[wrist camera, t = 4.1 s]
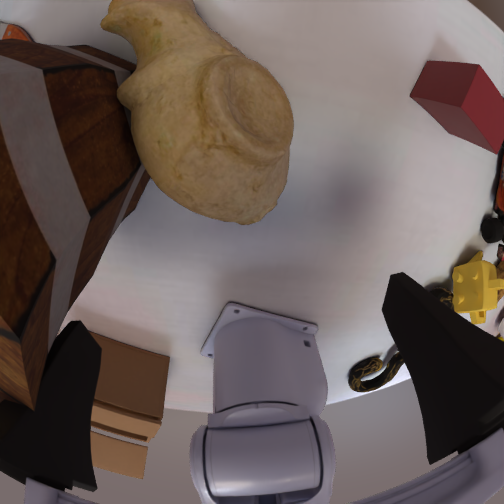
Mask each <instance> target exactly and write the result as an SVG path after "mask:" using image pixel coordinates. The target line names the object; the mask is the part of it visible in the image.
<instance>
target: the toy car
mask: <svg viewBox="0 0 504 504" xmlns="http://www.w3.org/2000/svg"><path fill="white" fill-rule="evenodd" d="M502 146H503V148H504V140H503V143H502ZM494 212H495V213H498V214H499V216H501V217H500V218H499V219H500V220H499V219H498V218H490V219H486V220H484V222H483V223H482V226H481V233H482V237H483V238H484V240H485V241H486V242H487V243H494V242H498V241H500V240H502V241H503V243H504V153H503V160H502V166H501V172H500V180H499V187H498V190H497V195H496V202H495V207H494ZM497 257H498V259H499V260H500V261H504V245H502V244H499V245H498V251H497Z"/></svg>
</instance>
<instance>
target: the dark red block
mask: <svg viewBox="0 0 504 504" xmlns="http://www.w3.org/2000/svg"><path fill="white" fill-rule="evenodd" d="M410 96H411V97H412V98H413V99H414V100H415V101H416V102H417V103H419V104H420V105H421V106H422V107H423V108H424V109H425V110H426V111H427V112H428V113H429V114H430V115H431V116H432V117H434V118H435V119H436V120H437V121H438V122H439V123H440V124H441V125H442V126H443V127H444V128H445V130H446V131H447V132H448V133H449V134H452V135H455V136H457V137H459V138H462V139H464V140H467V141H469V142H471V143H473V144H476V145H478V146H480V147H482V148H484V149H486V150H488V151H491V152H493V153H495V154H498V151H499V149H500V147H501V145H502V143H503V140H504V99H503V97H502V96H501V94H500V93H499V91H498V90H497V88H496V87H495V85H494V84H493V82H492V81H491V80H490V78H489V77H488V75H487V74H486V73H485V71H484V70H483V69H482V67H481V66H480V65H478V64H470V63H460V62H446V61H427V63H426V65H425V67H424V69H423V71H422V73H421V75H420V77H419V79H418V81H417V83H416V85H415V87H414V89H413V91H412V93H411V95H410Z"/></svg>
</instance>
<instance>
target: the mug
mask: <svg viewBox="0 0 504 504" xmlns="http://www.w3.org/2000/svg"><path fill="white" fill-rule="evenodd" d="M136 68H137V65H135V64H133V63H131V62H128V61H126V60H123V59H121V58H119V57H116V56H114V55H111V54H109V53H106V52H104V51H101V50H98V49H96V48H93V47H90V46H87V45H77V46H57V45H45V44H40V43H35V42H30V41H25V40H20V39H13V38H10V39H3V40H0V402H1V401H3V400H4V399H6V400H9V401H12V402H15V403H18V404H22V405H25V406H27V407H29V408H30V409H31V410H32V411H34V412H35V407H36V402H37V396H38V391H39V386H40V382H41V379H42V375H43V371H44V367H45V363H46V360H47V356H48V353H49V351H50V348H51V346H52V344H53V342H54V339H55V337H56V335H57V333H58V331H59V329H60V326H61V324H62V322H63V320H64V318H65V316H66V314H67V312H68V311H69V309H70V308H71V306H72V305H73V303H74V302H75V300H76V299H77V297H78V296H79V294H80V293H81V292H82V290H83V289H84V287H85V286H86V284H87V283H88V282H89V280H90V279H91V278H92V276H93V275H94V272H95V270H96V268H97V265H98V263H99V261H100V259H101V256H102V254H103V252H104V250H105V248H106V246H107V244H108V242H109V240H110V238H111V237H112V235H113V234H114V232H115V231H116V229H117V228H118V226H119V225H120V223H121V222H122V221H123V220H124V219H125V218H126V217H127V216H128V215H129V214H130V213H131V212H132V211H134V210H135V208H136V206H137V204H138V201H139V199H140V197H141V195H142V193H143V191H144V189H145V187H146V185H147V183H148V181H149V179H150V175H149V174H148V172H147V171H146V169H145V167H144V165H143V164H142V161H141V159H140V157H139V155H138V152H137V150H136V147H135V144H134V140H133V136H132V132H131V125H132V124H131V111H130V110H129V109H128V108H126V107H125V106H124V105H122V104H121V103H120V101H119V100H118V98H117V89H118V88H119V87H120V85H121V84H122V83H123V82H124V81H125V80H126V79H127V78H128V77H130V76H131V75H132V74H133V72H134V71H135V70H136Z"/></svg>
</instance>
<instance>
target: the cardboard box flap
mask: <svg viewBox="0 0 504 504" xmlns="http://www.w3.org/2000/svg"><path fill="white" fill-rule="evenodd" d="M147 450H148V447H146V446H142V445H138V444H134V443H130V442H126V441H122V440H119V439H116V438H112V437H109V436H105V435H102V434H99V433H96V432H93V431H91V455H92V464H93V466H95V467H98V468H101V469H104V470H108V471H111V472H115V473H119V474H122V475H126V476H130V477H135V478H139V479H143V476H144V469H145V463H146V456H147Z"/></svg>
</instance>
